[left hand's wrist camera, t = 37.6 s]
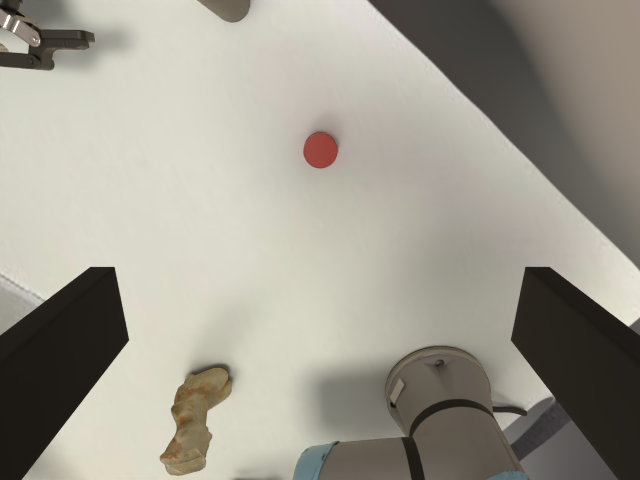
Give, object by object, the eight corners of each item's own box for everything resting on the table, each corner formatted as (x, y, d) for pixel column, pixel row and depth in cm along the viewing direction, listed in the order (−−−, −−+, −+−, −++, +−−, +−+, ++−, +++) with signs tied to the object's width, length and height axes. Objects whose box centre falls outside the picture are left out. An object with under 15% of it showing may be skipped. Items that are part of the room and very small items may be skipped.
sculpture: (237, 390, 60) (212, 480, 46) (192, 397, 61) (153, 489, 47) (226, 359, 58) (197, 444, 44) (180, 367, 59) (136, 453, 45)
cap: (335, 166, 48) (335, 169, 46) (303, 164, 48) (302, 167, 46) (337, 133, 47) (338, 135, 45) (304, 131, 47) (304, 133, 45)
